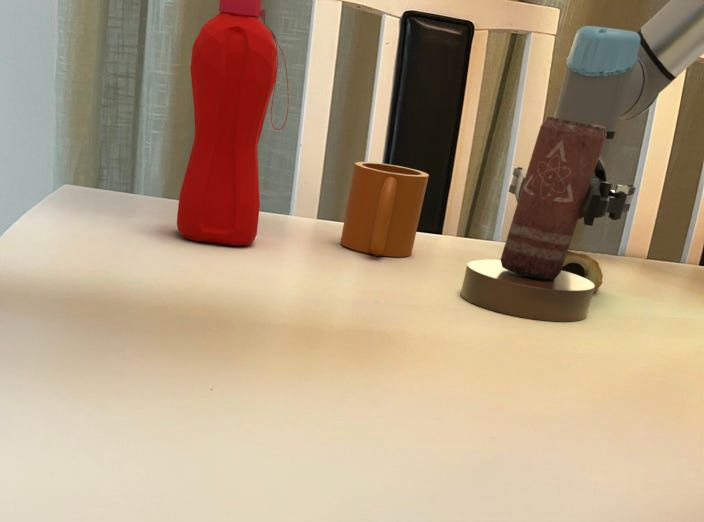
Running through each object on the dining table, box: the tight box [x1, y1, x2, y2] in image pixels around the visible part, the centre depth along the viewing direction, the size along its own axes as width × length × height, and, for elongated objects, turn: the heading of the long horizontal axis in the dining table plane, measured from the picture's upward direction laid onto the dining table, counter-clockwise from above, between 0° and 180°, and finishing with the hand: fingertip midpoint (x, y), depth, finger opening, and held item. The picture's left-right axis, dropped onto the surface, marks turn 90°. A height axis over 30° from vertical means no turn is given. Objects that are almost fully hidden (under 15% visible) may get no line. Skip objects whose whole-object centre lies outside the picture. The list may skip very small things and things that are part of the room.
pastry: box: [562, 250, 604, 292], centre depth 115 cm, size 9×7×4 cm
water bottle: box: [176, 0, 290, 247], centre depth 110 cm, size 9×11×25 cm
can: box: [500, 116, 607, 279], centre depth 99 cm, size 6×6×14 cm
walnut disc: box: [460, 259, 595, 323], centre depth 104 cm, size 13×13×3 cm
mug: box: [340, 161, 430, 258], centre depth 118 cm, size 9×12×9 cm
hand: (572, 206), depth 97 cm, fingers open, 3 cm apart
